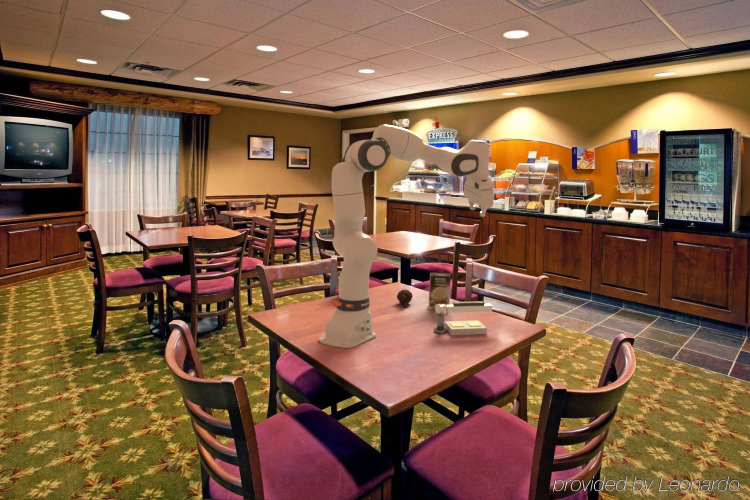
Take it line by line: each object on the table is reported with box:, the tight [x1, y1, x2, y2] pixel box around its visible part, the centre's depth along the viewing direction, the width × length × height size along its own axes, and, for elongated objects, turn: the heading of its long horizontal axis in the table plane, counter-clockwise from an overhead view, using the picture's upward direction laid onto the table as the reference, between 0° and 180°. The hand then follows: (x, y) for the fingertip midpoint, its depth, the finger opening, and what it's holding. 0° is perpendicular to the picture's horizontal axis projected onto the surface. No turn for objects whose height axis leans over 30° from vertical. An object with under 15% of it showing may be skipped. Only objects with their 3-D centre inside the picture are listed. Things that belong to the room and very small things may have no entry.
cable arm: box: [434, 300, 493, 315], centre depth 171 cm, size 22×4×4 cm, turn 98°
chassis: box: [444, 319, 488, 336], centre depth 173 cm, size 14×9×3 cm, turn 98°
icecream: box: [396, 289, 413, 309], centre depth 208 cm, size 7×7×15 cm
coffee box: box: [427, 272, 452, 311], centre depth 199 cm, size 9×6×16 cm
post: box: [433, 313, 448, 334], centre depth 171 cm, size 5×5×7 cm
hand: (477, 212), depth 185 cm, fingers open, 8 cm apart
